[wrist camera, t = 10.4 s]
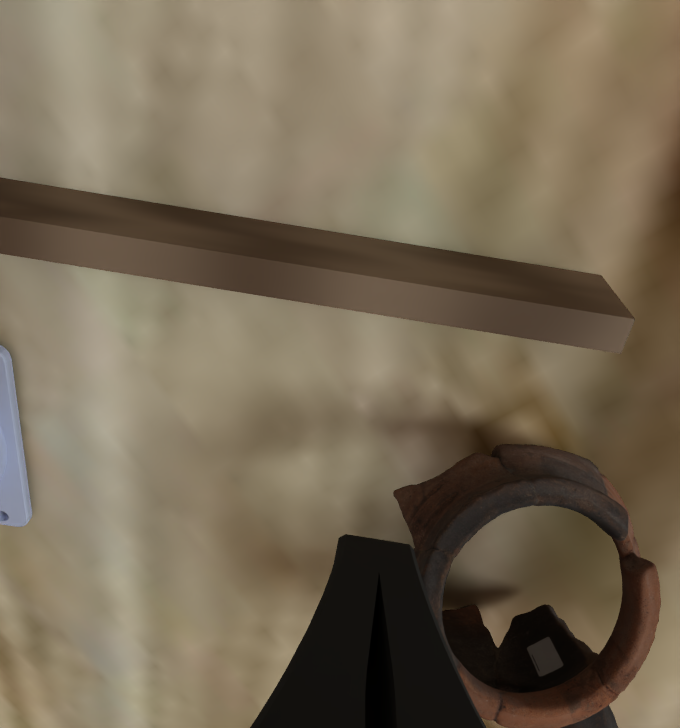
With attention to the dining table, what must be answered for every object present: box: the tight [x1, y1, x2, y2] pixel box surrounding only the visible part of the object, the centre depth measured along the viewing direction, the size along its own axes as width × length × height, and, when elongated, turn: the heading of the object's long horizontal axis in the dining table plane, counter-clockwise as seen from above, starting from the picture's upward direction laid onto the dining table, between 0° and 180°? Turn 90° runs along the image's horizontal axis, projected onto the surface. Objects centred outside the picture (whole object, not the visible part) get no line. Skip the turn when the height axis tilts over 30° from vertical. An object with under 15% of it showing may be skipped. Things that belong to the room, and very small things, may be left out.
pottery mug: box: [393, 444, 661, 728], centre depth 22 cm, size 12×10×8 cm
